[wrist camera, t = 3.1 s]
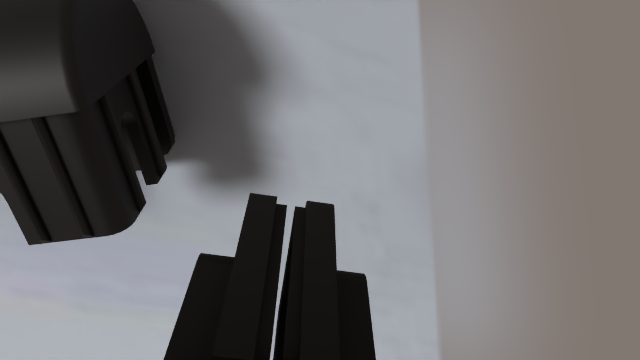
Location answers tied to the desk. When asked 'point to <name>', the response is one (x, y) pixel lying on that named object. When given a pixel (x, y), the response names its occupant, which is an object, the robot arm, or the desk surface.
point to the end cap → (78, 116)
